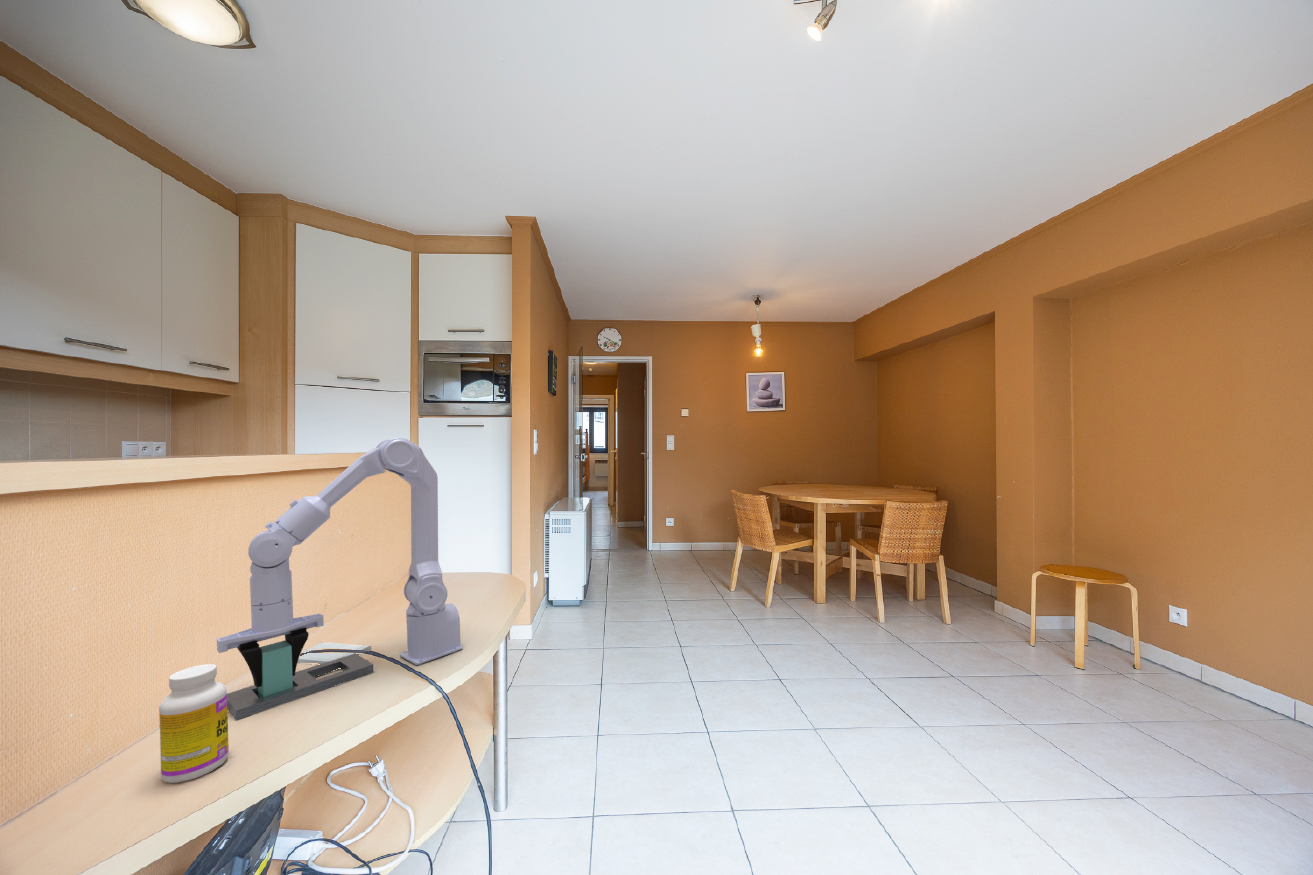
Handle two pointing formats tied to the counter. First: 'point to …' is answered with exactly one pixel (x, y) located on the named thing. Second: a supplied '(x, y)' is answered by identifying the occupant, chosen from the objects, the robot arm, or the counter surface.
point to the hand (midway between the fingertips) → (274, 679)
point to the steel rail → (299, 685)
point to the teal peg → (276, 668)
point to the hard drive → (327, 657)
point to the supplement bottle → (193, 724)
